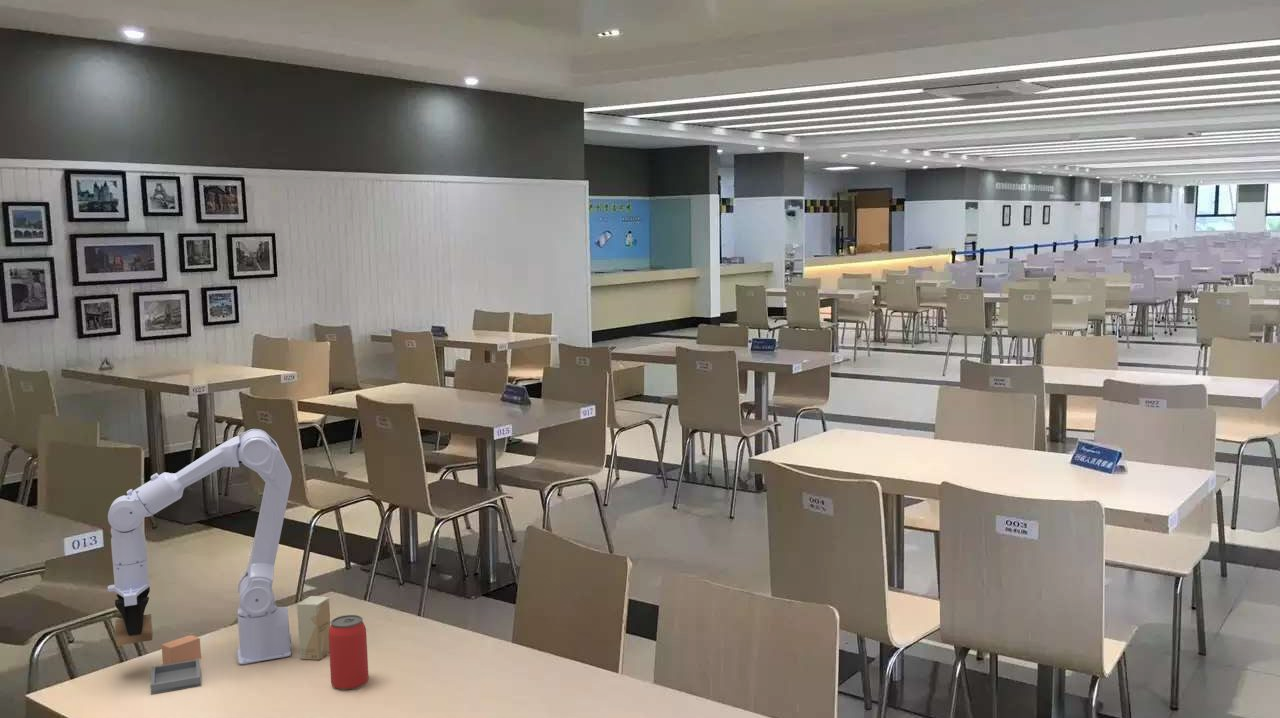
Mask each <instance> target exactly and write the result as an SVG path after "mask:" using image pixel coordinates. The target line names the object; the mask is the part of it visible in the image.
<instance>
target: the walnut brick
mask: <svg viewBox="0 0 1280 718" xmlns="http://www.w3.org/2000/svg"><path fill="white" fill-rule="evenodd" d="M153 632H154V631H153V619H152V613H149V614H144V616H143V627H142V632H141V634H140V635H133V636H129V635H128V633H127V630H126V626H125V623H124V620H123V617H122V618H115V622H114V633H115V643H116V644H115V645H116V646H124V645H130V644H136V643H143V642H149V641H153V637H154V633H153Z"/></svg>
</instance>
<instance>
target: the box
mask: <svg viewBox="0 0 1280 718" xmlns="http://www.w3.org/2000/svg"><path fill="white" fill-rule="evenodd" d="M296 605H297V621H298V622H297V628H298V629H297V630H298V644H299V645H298V647H299V659H301V660H315V661H320V660H321V659H322V658H324V657H325V656H327V655H328V654H329V636H328V634H329V629H330V627H331V612H330V608H331V606H330V597H329V596H318V595H310V596H308V597H306V598H305V599H303V600H301V601H300V602H299V603H297V604H296Z"/></svg>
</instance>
